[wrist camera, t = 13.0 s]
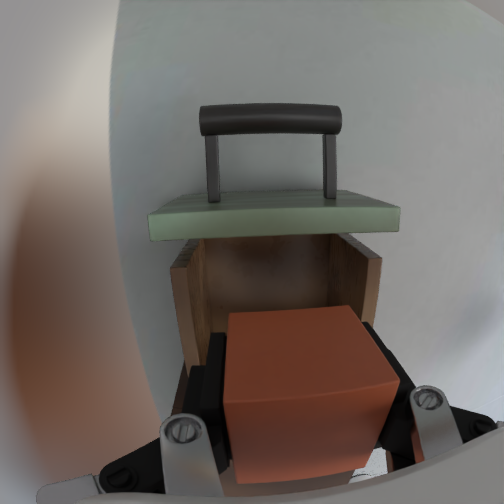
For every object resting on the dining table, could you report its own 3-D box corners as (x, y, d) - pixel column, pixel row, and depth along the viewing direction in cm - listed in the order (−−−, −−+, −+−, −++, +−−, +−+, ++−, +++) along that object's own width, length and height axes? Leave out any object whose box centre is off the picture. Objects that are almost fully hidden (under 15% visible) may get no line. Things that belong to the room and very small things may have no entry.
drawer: (178, 123, 18) (141, 100, 10) (344, 120, 18) (399, 101, 11) (202, 368, 24) (191, 438, 16) (333, 360, 24) (360, 424, 16)
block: (228, 311, 10) (222, 402, 6) (349, 304, 11) (401, 379, 6) (236, 399, 12) (236, 484, 7) (336, 390, 12) (365, 467, 8)
